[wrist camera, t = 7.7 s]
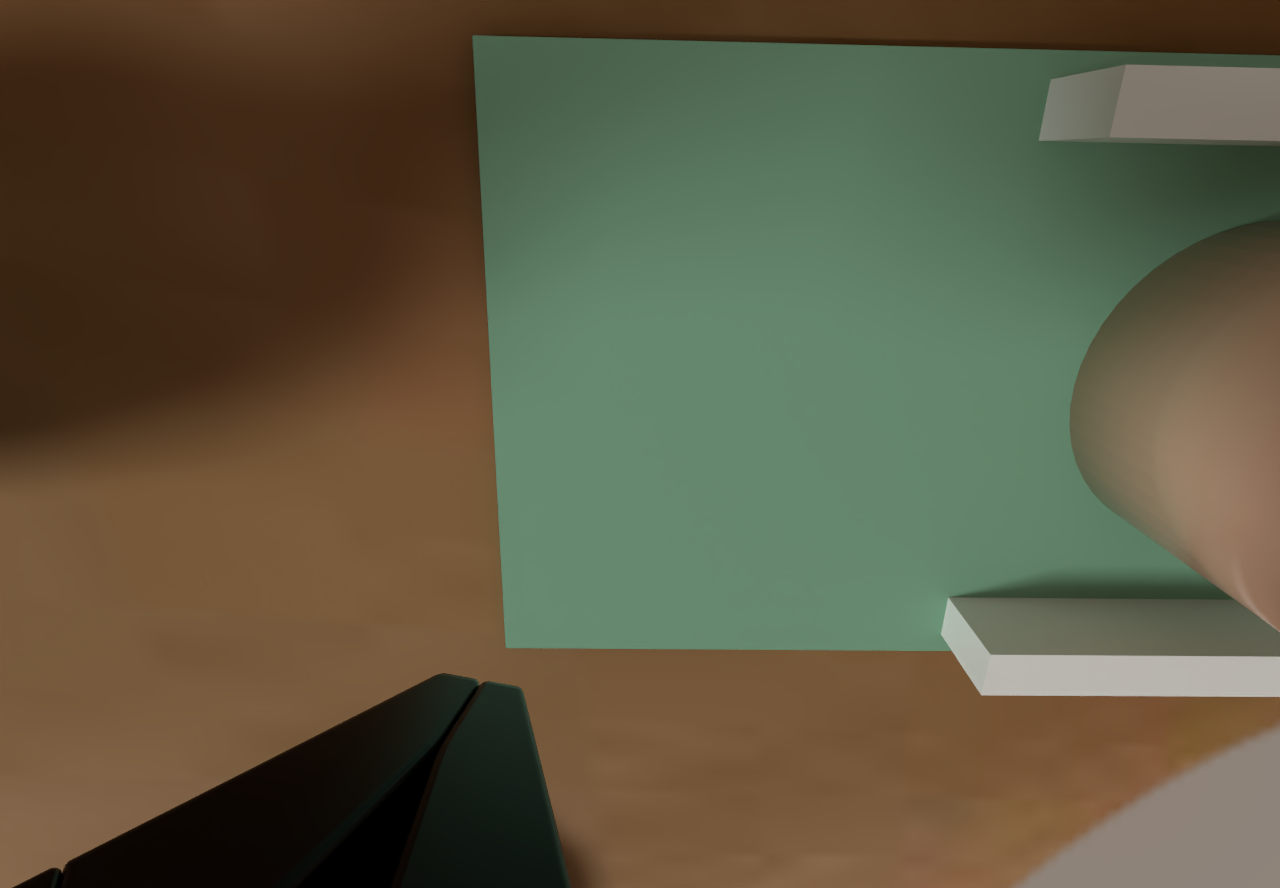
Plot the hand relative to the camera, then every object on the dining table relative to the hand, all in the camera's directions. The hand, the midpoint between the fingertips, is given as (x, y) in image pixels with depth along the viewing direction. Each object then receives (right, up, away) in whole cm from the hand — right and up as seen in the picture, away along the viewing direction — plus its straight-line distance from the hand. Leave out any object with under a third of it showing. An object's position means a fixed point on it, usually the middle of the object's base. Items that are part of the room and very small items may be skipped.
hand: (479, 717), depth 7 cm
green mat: (+10, +4, +11) cm, 16 cm away
